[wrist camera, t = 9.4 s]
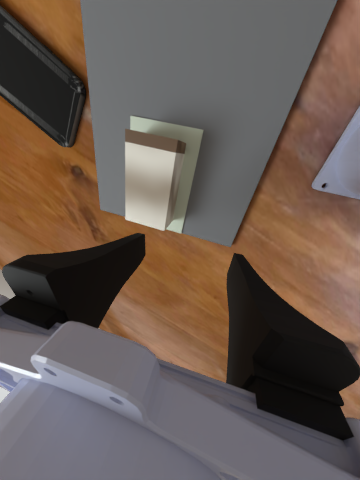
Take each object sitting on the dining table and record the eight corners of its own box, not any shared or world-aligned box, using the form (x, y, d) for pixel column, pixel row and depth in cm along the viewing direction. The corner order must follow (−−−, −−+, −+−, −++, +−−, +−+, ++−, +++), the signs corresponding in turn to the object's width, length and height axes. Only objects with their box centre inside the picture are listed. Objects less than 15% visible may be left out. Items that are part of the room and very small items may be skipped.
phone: (67, 151, 20) (-42, 61, 18) (74, 151, 21) (-28, 66, 19) (83, 82, 16) (-55, -45, 14) (91, 86, 17) (-37, -31, 15)
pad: (131, 115, 16) (130, 115, 16) (203, 130, 15) (203, 129, 15) (130, 218, 22) (129, 218, 22) (181, 232, 21) (181, 233, 21)
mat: (377, -100, 9) (387, -116, 8) (230, 244, 21) (230, 247, 20) (76, -99, 11) (69, -111, 11) (103, 208, 23) (100, 209, 23)
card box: (172, 220, 20) (164, 230, 17) (139, 210, 21) (125, 219, 18) (186, 143, 16) (177, 139, 13) (142, 134, 16) (125, 128, 13)
